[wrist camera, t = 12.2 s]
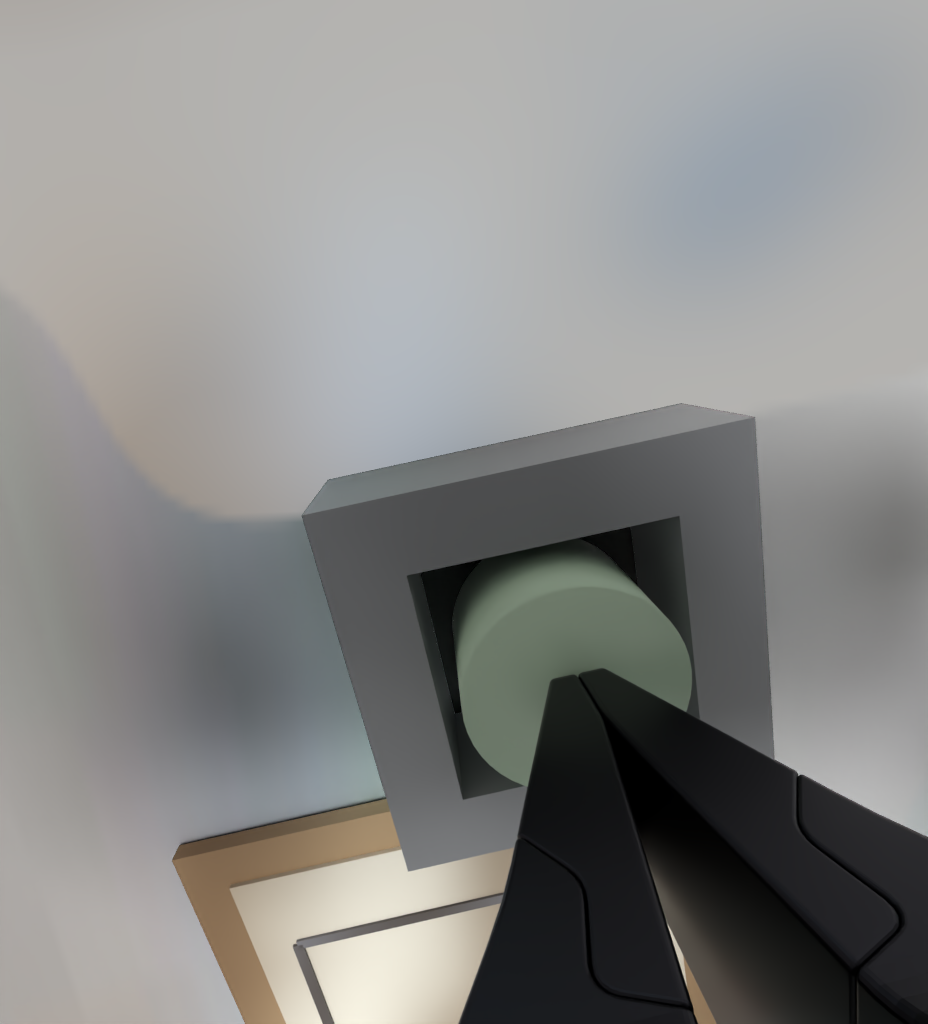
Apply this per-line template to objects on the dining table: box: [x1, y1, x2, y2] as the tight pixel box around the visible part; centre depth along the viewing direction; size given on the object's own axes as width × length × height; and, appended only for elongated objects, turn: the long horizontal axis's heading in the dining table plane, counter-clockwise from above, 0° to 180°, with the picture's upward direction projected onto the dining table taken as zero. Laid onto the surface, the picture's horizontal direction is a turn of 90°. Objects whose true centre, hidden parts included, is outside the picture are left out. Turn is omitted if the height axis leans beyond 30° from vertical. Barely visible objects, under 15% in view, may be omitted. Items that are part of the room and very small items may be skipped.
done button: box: [452, 538, 692, 787], centre depth 10 cm, size 4×4×2 cm
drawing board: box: [172, 799, 717, 1024], centre depth 15 cm, size 12×14×1 cm
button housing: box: [302, 403, 775, 872], centre depth 11 cm, size 7×7×2 cm
